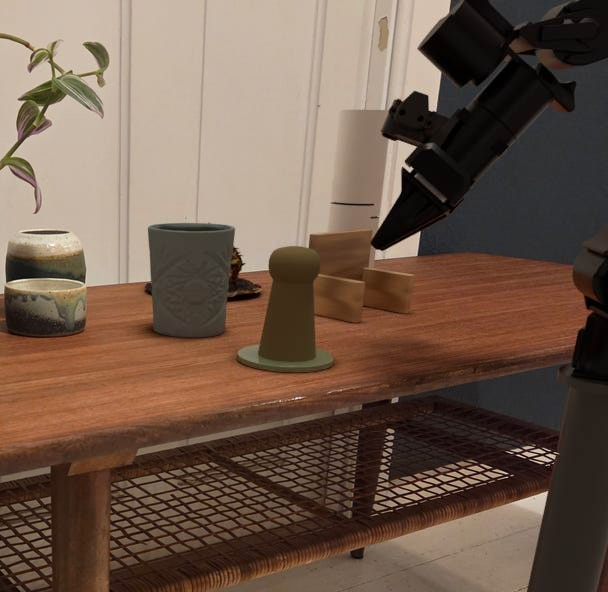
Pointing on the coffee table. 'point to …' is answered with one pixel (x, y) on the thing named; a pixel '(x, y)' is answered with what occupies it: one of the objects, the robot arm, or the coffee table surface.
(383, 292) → the rack
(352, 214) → the cylindrical container
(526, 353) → the coffee table surface
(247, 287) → the cactus
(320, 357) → the coaster
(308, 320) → the olive tapered shaker
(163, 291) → the grey embossed cup
